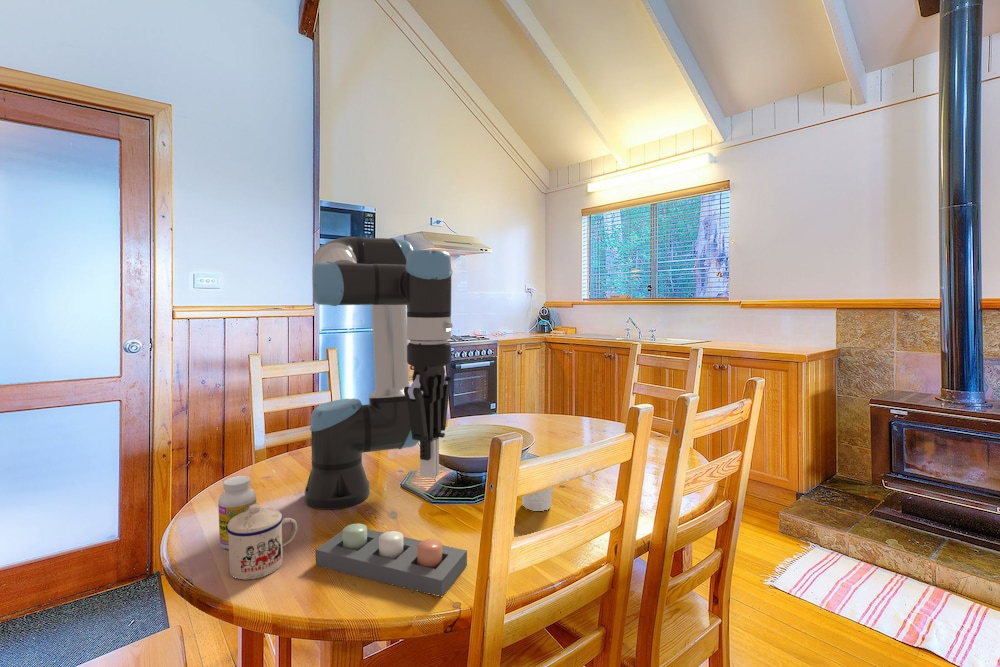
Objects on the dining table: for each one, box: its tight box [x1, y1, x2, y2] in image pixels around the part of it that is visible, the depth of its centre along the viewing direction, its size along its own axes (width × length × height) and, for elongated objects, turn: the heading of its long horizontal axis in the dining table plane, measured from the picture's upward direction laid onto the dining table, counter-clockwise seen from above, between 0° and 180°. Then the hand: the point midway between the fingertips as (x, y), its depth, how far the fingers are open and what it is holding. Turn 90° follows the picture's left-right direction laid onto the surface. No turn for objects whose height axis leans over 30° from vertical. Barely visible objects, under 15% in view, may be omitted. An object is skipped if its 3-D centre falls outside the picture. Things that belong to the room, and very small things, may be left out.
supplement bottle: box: [217, 475, 257, 550], centre depth 97 cm, size 7×7×13 cm
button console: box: [314, 528, 468, 597], centre depth 89 cm, size 26×10×3 cm, turn 70°
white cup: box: [521, 487, 554, 512], centre depth 115 cm, size 8×8×10 cm
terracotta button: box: [417, 538, 443, 569], centre depth 86 cm, size 4×4×4 cm
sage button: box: [342, 523, 368, 551], centre depth 92 cm, size 4×4×4 cm
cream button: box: [379, 530, 404, 560], centre depth 89 cm, size 4×4×4 cm
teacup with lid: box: [227, 503, 298, 580], centre depth 89 cm, size 12×9×12 cm
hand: (429, 475), depth 85 cm, fingers closed
